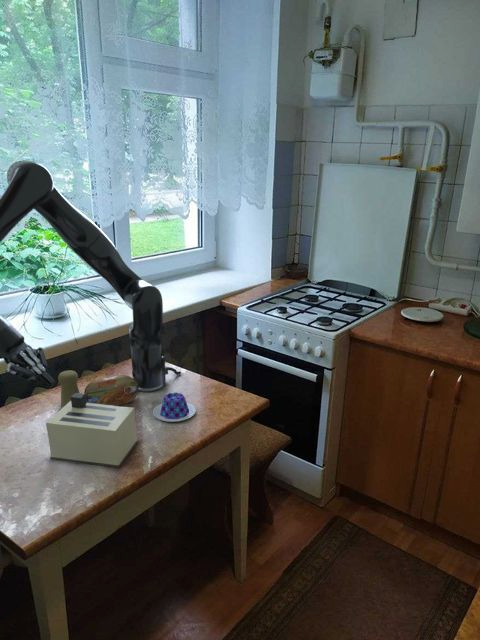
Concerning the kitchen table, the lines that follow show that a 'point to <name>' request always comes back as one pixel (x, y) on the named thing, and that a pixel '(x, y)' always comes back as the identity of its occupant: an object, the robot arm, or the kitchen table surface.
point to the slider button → (78, 400)
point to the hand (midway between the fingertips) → (51, 385)
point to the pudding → (174, 408)
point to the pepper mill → (68, 386)
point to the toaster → (92, 434)
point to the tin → (112, 390)
